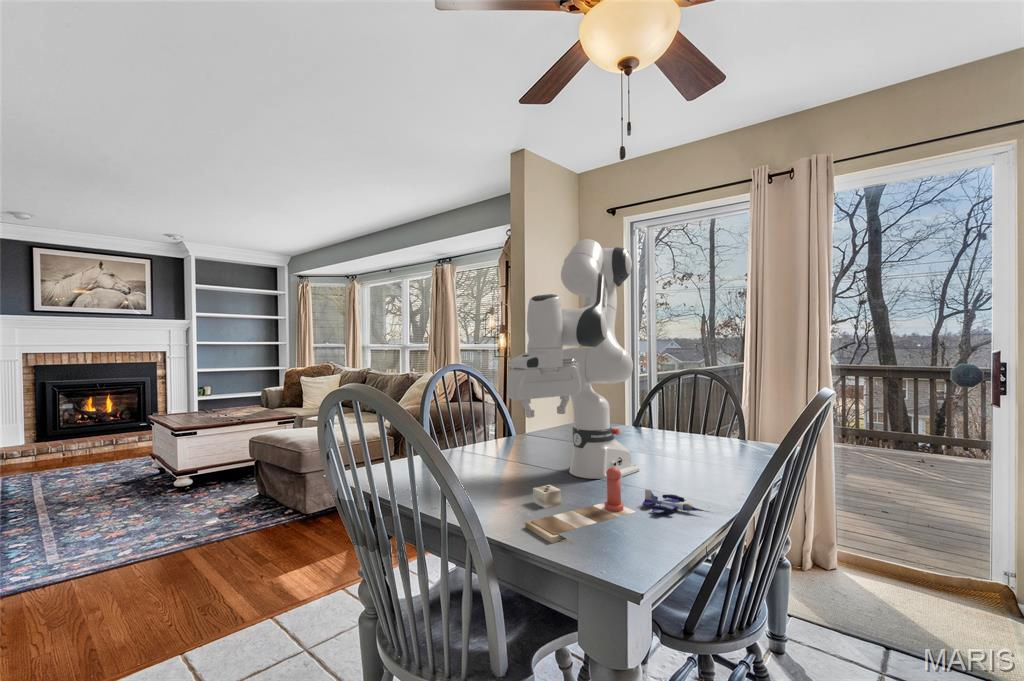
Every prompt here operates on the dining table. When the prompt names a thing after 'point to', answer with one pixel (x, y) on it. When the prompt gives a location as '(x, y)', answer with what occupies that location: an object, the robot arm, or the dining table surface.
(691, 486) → the dining table surface
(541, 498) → the die
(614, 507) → the pawn
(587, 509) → the track board
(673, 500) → the toy airplane
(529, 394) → the robot arm
